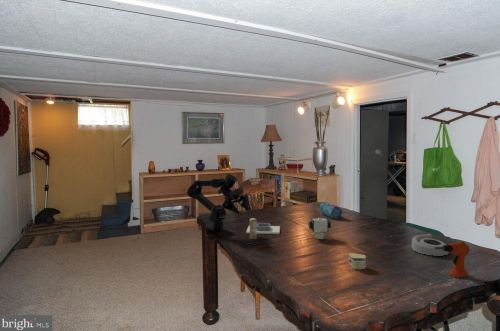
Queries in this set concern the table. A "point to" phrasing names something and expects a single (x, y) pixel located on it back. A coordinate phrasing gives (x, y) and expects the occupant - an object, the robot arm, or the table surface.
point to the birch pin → (253, 228)
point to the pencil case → (330, 210)
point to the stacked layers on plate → (357, 261)
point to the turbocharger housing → (428, 245)
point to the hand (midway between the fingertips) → (244, 211)
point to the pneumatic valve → (319, 227)
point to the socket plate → (265, 229)
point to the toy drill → (457, 257)
